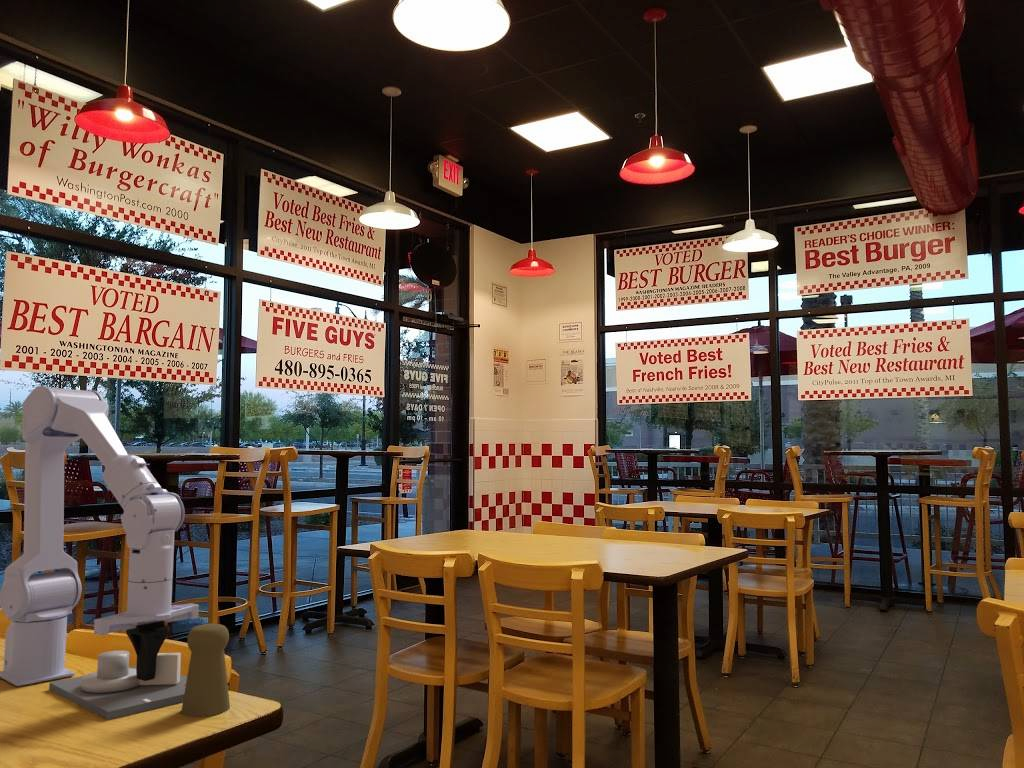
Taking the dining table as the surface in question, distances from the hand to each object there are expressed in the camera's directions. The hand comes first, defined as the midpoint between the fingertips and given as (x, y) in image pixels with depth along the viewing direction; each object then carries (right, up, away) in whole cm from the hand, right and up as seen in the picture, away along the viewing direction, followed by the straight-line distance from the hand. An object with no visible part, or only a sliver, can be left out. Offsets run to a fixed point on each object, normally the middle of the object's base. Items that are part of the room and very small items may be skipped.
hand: (146, 678), depth 111 cm
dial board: (-3, -3, +2) cm, 4 cm away
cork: (+11, -2, -6) cm, 12 cm away
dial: (-3, -1, +2) cm, 4 cm away
